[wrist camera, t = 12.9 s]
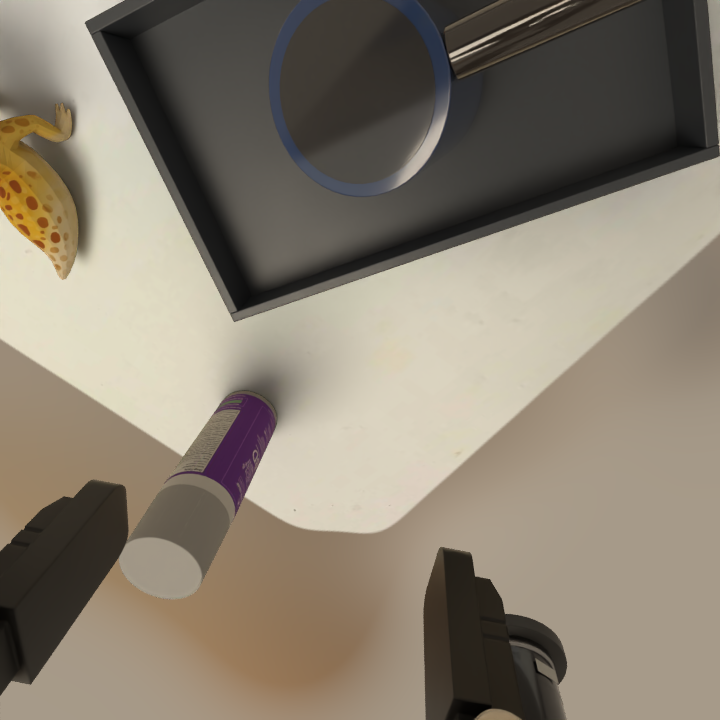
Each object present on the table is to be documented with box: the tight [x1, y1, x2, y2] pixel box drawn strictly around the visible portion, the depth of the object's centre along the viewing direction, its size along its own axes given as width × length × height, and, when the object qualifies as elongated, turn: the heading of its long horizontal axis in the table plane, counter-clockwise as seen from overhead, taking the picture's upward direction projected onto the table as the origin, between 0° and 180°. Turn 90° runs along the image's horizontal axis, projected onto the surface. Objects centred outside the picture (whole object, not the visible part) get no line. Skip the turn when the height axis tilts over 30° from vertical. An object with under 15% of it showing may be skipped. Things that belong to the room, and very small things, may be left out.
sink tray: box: [85, 0, 720, 322], centre depth 27 cm, size 17×28×4 cm, turn 111°
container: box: [119, 391, 277, 599], centre depth 32 cm, size 5×5×15 cm
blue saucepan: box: [269, 0, 647, 197], centre depth 22 cm, size 15×8×8 cm, turn 111°
